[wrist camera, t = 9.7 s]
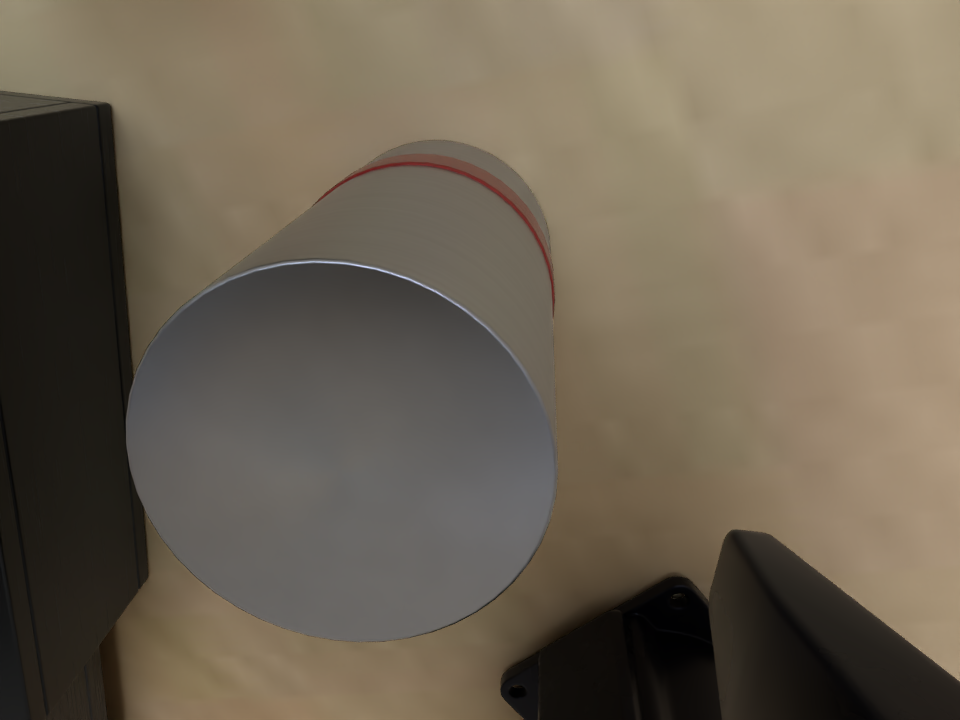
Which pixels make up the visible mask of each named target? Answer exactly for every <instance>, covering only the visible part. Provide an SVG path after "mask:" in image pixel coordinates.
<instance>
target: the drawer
mask: <svg viewBox="0 0 960 720" xmlns="http://www.w3.org/2000/svg"><path fill="white" fill-rule="evenodd" d="M46 720H108V719H107V711H106V702H105V693H104V685H103V676H102V668H101V659H100V650H99V646H98V648H97V649H96V650H95V652H94V653H93V655H92V656H91V657H90V659H89V660H88V661H87V663H86V664H85V666H84V667H83V668H82V670H81V671H80V673H79V674H78V675H77V677H76V678H75V679H74V681H73V682H72V684H71V685H70V686H69V688H68V689H67V691H66V692H65V693H64V695H63V696H62V697H61V699H60V700H59V702H58V703H57V704H56V706H55V707H54V709H53V710H52V711H51V713H50V714H49V715H48V716H46Z"/></svg>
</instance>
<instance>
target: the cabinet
mask: <svg viewBox="0 0 960 720" xmlns="http://www.w3.org/2000/svg"><path fill="white" fill-rule="evenodd" d="M132 384H133V381H132V369H131V357H130V344H129V332H128V320H127V307H126V295H125V282H124V270H123V258H122V245H121V233H120V221H119V208H118V196H117V184H116V171H115V159H114V147H113V134H112V122H111V109H110V104H108V103H106V102H97V101H88V100H79V99H69V98H60V97H51V96H42V95H33V94H24V93H15V92H6V91H0V720H46V716H48V715H49V714H50V713H51V711H52V710H53V709H54V707H55V706H56V704H57V703H58V702H59V700H60V699H61V697H62V696H63V695H64V693H65V692H66V691H67V689H68V688H69V686H70V685H71V684H72V682H73V681H74V679H75V678H76V677H77V675H78V674H79V673H80V671H81V670H82V668H83V667H84V666H85V664H86V663H87V661H88V660H89V659H90V657H91V656H92V655H93V653H94V652H95V650H96V649H97V648H98V646H99V645H100V643H101V642H102V641H103V639H104V638H105V637H106V635H107V634H108V632H109V631H110V630H111V628H112V627H113V625H114V624H115V623H116V621H117V620H118V619H119V617H120V616H121V614H122V613H123V612H124V610H125V609H126V607H127V606H128V605H129V603H130V602H131V601H132V599H133V598H134V596H135V595H136V594H137V592H138V589H140V588H141V587H142V585H143V584H144V583H145V581H146V580H147V578H148V567H147V554H146V542H145V530H144V517H143V505H142V502H141V500H140V498H139V496H138V493H137V490H136V487H135V484H134V480H133V477H132V474H131V470H130V465H129V459H128V453H127V446H126V416H127V408H128V401H129V394H130V390H131V387H132Z"/></svg>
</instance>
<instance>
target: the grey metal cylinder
mask: <svg viewBox="0 0 960 720" xmlns="http://www.w3.org/2000/svg"><path fill="white" fill-rule="evenodd" d="M554 304H555V292H554V274H553V264H552V260H551V251H550V238H549V233H548V228H547V223H546V221H545V218H544V215H543V212H542V209H541V207H540V205H539V203H538V201H537V199H536V197H535V196H534V194H533V193H532V191H531V190H530V189H529V187H528V186H527V184H526V183H525V182H524V181H523V180H522V179H521V178H520V176H519V175H518V174H517V173H516V172H515V171H513V170H512V169H511V168H510V167H509V166H508V165H506V164H505V163H504V162H502V161H501V160H499V159H498V158H496V157H495V156H493V155H491V154H489V153H487V152H485V151H483V150H481V149H479V148H476V147H473V146H470V145H467V144H464V143H458V142H453V141H442V140H429V141H418V142H414V143H410V144H405V145H402V146H399V147H397V148H394V149H392V150H389V151H387V152H386V153H384V154H382V155H380V156H378V157H377V158H375V159H374V160H373V161H371V162H370V163H369V164H367V165H366V166H364V167H362V168H360V169H358V170H357V171H355V172H353V173H351V174H350V175H349V176H347V177H346V178H345V179H343V180H342V181H341V182H339V183H338V184H337V185H335V186H334V187H333V188H331V189H330V190H329V191H327V192H326V193H325V194H324V195H323V196H322V197H321V198H320V199H319V200H318V201H317V202H316V203H315V204H314V205H313V206H312V207H311V208H310V209H308V210H307V211H306V212H304V213H303V214H302V215H300V216H299V217H298V218H296V219H295V220H294V221H293V222H291V223H290V224H289V225H287V226H286V227H285V228H283V229H282V230H281V231H279V232H278V233H277V234H276V235H274V236H273V237H272V238H270V239H269V240H268V241H266V242H265V243H264V244H262V245H261V246H260V247H258V248H257V249H256V250H255V251H253V252H252V253H251V254H249V255H248V256H247V257H245V258H244V259H243V260H241V261H240V262H239V263H237V264H236V265H235V266H234V267H232V268H231V269H230V270H228V271H227V272H226V273H224V274H223V275H222V276H220V277H219V278H218V279H216V280H215V281H214V282H213V283H211V284H210V285H209V286H207V287H206V288H205V289H203V290H202V291H201V292H199V293H198V294H197V295H195V296H194V297H193V298H192V299H190V300H189V301H188V302H186V303H185V304H184V305H182V306H181V307H180V308H179V309H178V310H177V311H176V312H175V313H174V314H173V315H172V316H171V317H170V318H169V319H168V321H167V322H166V323H165V324H164V325H163V326H162V327H161V329H160V330H159V331H158V333H157V334H156V336H155V337H154V339H153V340H152V341H151V343H150V344H149V346H148V347H147V350H146V352H145V354H144V356H143V358H142V360H141V362H140V364H139V366H138V368H137V371H136V374H135V377H134V380H133V384H132V387H131V390H130V394H129V401H128V408H127V416H126V446H127V453H128V459H129V465H130V470H131V474H132V477H133V480H134V484H135V487H136V490H137V493H138V496H139V498H140V500H141V502H142V504H143V507H144V509H145V511H146V513H147V516H148V517H149V519H150V521H151V522H152V524H153V525H154V527H155V529H156V530H157V532H158V534H159V535H160V537H161V538H162V540H163V541H164V542H165V543H166V545H167V546H168V547H169V549H170V550H171V551H172V552H173V554H174V555H175V556H176V558H177V559H178V560H179V561H180V562H181V563H182V564H183V565H184V566H185V567H186V568H187V569H188V570H189V571H190V572H191V573H192V574H193V575H194V576H195V577H196V578H198V579H199V580H200V581H201V582H202V583H204V584H205V585H206V586H207V587H209V588H210V589H211V590H212V591H213V592H215V593H216V594H218V595H219V596H221V597H222V598H224V599H225V600H227V601H228V602H230V603H231V604H233V605H234V606H236V607H238V608H240V609H242V610H243V611H245V612H247V613H249V614H251V615H253V616H255V617H257V618H259V619H261V620H264V621H266V622H269V623H271V624H274V625H276V626H279V627H281V628H284V629H287V630H291V631H294V632H298V633H301V634H304V635H308V636H313V637H319V638H324V639H330V640H338V641H350V642H384V641H391V640H399V639H406V638H411V637H415V636H419V635H423V634H427V633H431V632H434V631H437V630H439V629H442V628H445V627H447V626H450V625H453V624H455V623H457V622H459V621H461V620H463V619H465V618H467V617H469V616H470V615H472V614H474V613H476V612H478V611H479V610H480V609H482V608H483V607H485V606H486V605H488V604H489V603H490V602H492V601H493V600H495V599H496V598H497V597H498V596H499V595H500V594H501V593H502V592H504V591H505V590H506V589H507V588H508V587H509V586H510V585H511V584H512V583H513V582H514V581H515V580H516V579H517V577H518V576H519V575H520V574H521V572H522V571H523V570H524V569H525V568H526V566H527V565H528V564H529V562H530V561H531V559H532V557H533V556H534V554H535V552H536V551H537V549H538V547H539V546H540V544H541V542H542V540H543V537H544V535H545V532H546V530H547V528H548V525H549V523H550V520H551V516H552V512H553V508H554V503H555V499H556V492H557V480H558V451H557V422H556V394H555V365H554V336H553V317H554Z"/></svg>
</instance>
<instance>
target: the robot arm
mask: <svg viewBox="0 0 960 720" xmlns="http://www.w3.org/2000/svg"><path fill="white" fill-rule="evenodd" d="M677 593H681V594H684V596H683V597H682V598H679V599H674V598H671V597H672V596H673V595H674V594H677ZM514 685H521V686H523V687H521V688H516V687H513V686H514ZM500 690H501V695H502V697H503V698H504V700H505V701H506V702H507V703H508V704H509V705H510V706H511V707H512V708H513V709H514V710H515V711H516V712H517V713H518V714H519V715H520V716H521V717H522V718H523V719H524V720H960V682H959V681H958V680H957V679H956V678H954V677H953V676H952V675H950V674H949V673H948V672H947V671H945V670H944V669H943V668H941V667H940V666H939V665H938V664H936V663H935V662H934V661H932V660H931V659H930V658H929V657H927V656H926V655H925V654H923V653H922V652H921V651H920V650H918V649H917V648H916V647H914V646H913V645H912V644H911V643H909V642H908V641H907V640H905V639H904V638H903V637H902V636H900V635H899V634H898V633H896V632H895V631H894V630H893V629H891V628H890V627H889V626H887V625H886V624H885V623H884V622H882V621H881V620H880V619H878V618H877V617H876V616H875V615H873V614H872V613H871V612H869V611H868V610H867V609H865V608H864V607H863V606H862V605H860V604H859V603H858V602H856V601H855V600H854V599H853V598H851V597H850V596H849V595H847V594H846V593H845V592H844V591H842V590H841V589H840V588H838V587H837V586H836V585H835V584H833V583H832V582H831V581H829V580H828V579H827V578H826V577H824V576H823V575H822V574H820V573H819V572H818V571H817V570H815V569H814V568H813V567H811V566H810V565H809V564H808V563H806V562H805V561H804V560H802V559H801V558H800V557H799V556H797V555H796V554H795V553H793V552H792V551H791V550H790V549H788V548H787V547H786V546H784V545H783V544H782V543H781V542H779V541H778V540H777V539H775V538H774V537H773V536H771V535H770V534H767V533H763V532H754V531H746V530H731V531H730V532H729V533H728V534H727V535H726V537H725V539H724V542H723V545H722V549H721V552H720V556H719V560H718V564H717V568H716V571H715V575H714V579H713V583H712V586H711V590H710V596H709V601H708V600H707V599H706V598H705V597H704V595H703V594H702V593H701V592H700V591H699V590H698V588H697V587H696V586H695V585H694V584H693V583H692V582H691V581H690V580H689V579H687V578H684V577H681V576H677V577H671V578H668V579H666V580H664V581H662V582H660V583H659V584H657V585H655V586H653V587H652V588H650V589H648V590H646V591H645V592H643V593H641V594H639V595H638V596H636V597H634V598H632V599H631V600H629V601H627V602H626V603H624V604H622V605H620V606H619V607H617V608H615V609H613V610H612V611H608V612H606V613H604V614H602V615H601V616H599V617H597V618H595V619H594V620H592V621H590V622H588V623H587V624H585V625H583V626H581V627H580V628H578V629H576V630H575V631H573V632H571V633H569V634H568V635H566V636H564V637H562V638H561V639H559V640H557V641H555V642H554V643H552V644H550V645H548V646H547V647H545V648H543V649H542V650H541V651H540V652H539V653H537V654H535V655H533V656H532V657H530V658H528V659H526V660H525V661H523V662H521V663H519V664H518V665H516V666H514V667H512V668H511V669H509V670H507V671H506V672H505V673H504V674H503V676H502V678H501V689H500Z"/></svg>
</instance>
